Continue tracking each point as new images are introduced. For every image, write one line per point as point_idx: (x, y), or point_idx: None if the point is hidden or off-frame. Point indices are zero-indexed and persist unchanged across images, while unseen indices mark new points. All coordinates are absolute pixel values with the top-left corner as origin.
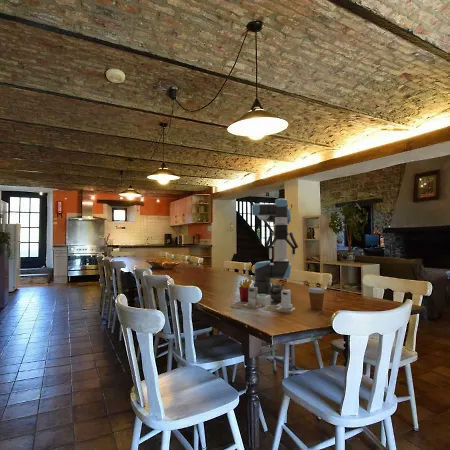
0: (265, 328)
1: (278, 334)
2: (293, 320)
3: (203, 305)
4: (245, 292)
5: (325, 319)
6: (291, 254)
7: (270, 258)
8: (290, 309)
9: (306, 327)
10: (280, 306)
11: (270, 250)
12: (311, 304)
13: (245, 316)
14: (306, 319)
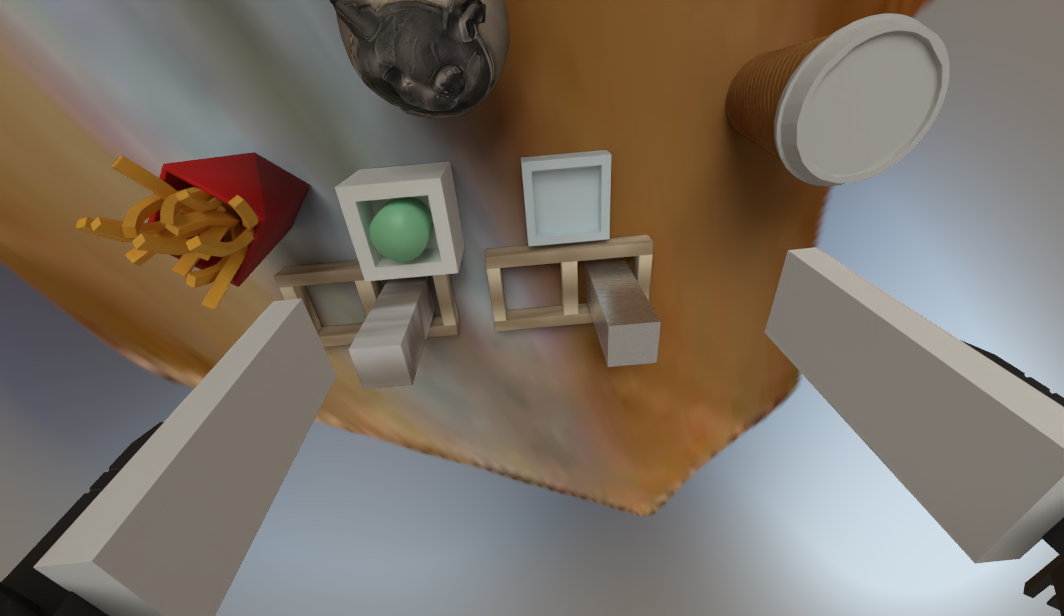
0: (610, 488)
1: (660, 506)
2: (671, 381)
3: (178, 378)
4: (261, 255)
5: None
6: (856, 417)
7: (330, 379)
8: (626, 265)
9: (728, 427)
10: (563, 258)
11: (235, 557)
12: (747, 136)
13: (481, 425)
14: (719, 343)
